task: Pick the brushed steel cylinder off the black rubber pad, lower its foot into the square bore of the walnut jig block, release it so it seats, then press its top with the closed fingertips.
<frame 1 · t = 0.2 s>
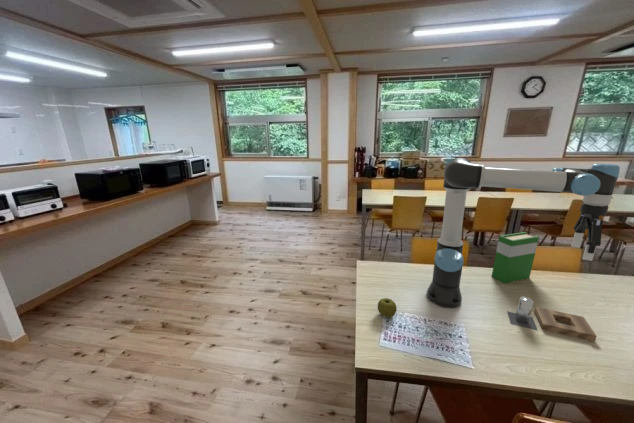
hand: (580, 253, 113), 28 cm above the table, fingers open, 13 cm apart
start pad: (521, 321, 114), on the table
apple: (386, 315, 119), on the table
brushed steel cylinder: (521, 320, 114), resting on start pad
jig: (561, 326, 110), on the table
hardback book: (510, 277, 147), on the table
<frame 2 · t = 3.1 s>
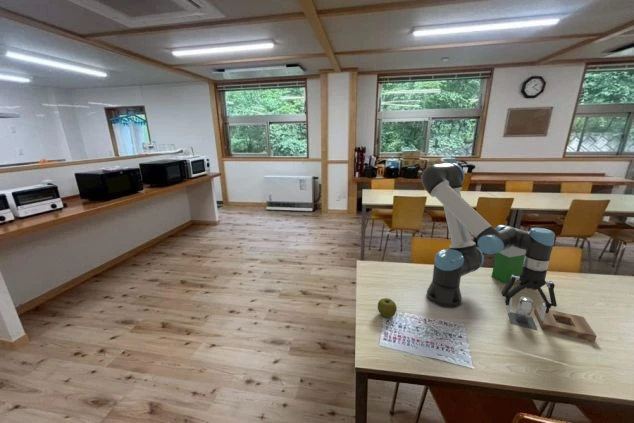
hand: (524, 315, 113), 3 cm above the table, fingers open, 11 cm apart
nothing on the table moved.
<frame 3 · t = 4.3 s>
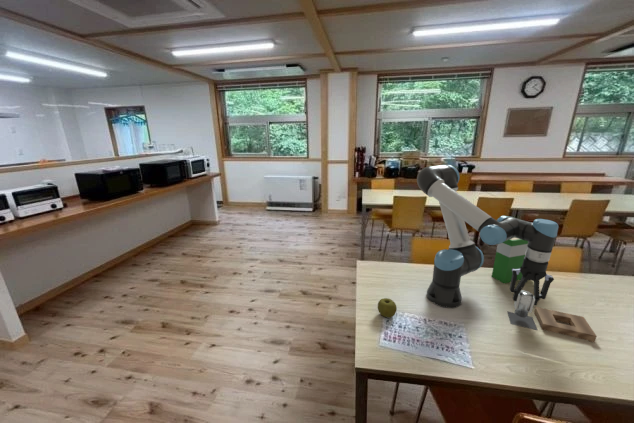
hand: (522, 308, 113), 6 cm above the table, fingers closed on brushed steel cylinder, 4 cm apart
brushed steel cylinder: (520, 313, 114), point 3 cm above the table, touching gripper
everything else where it was.
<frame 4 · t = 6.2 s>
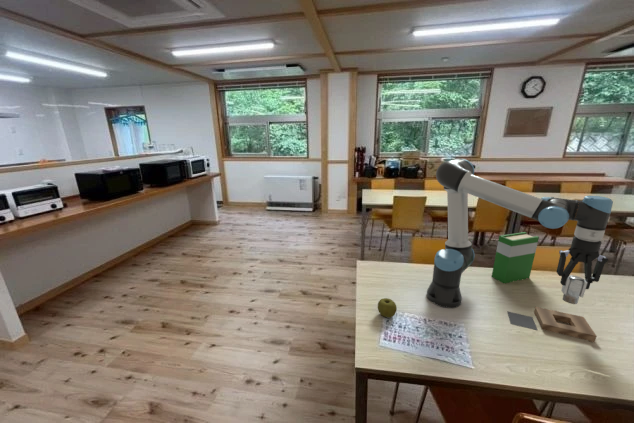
hand: (571, 293, 106), 15 cm above the table, fingers closed on brushed steel cylinder, 4 cm apart
brushed steel cylinder: (569, 300, 107), point 12 cm above the table, touching gripper
everything else where it was.
when the fingers open (4 cm above the table, at t = 8.0 s): brushed steel cylinder stays where it is, resting in jig.
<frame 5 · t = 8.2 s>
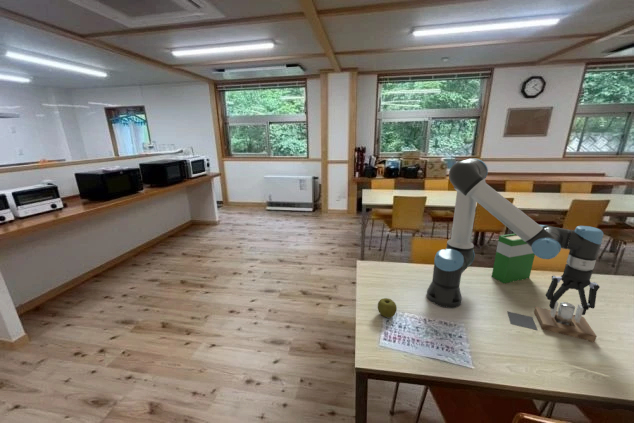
hand: (564, 317, 109), 4 cm above the table, fingers open, 7 cm apart
brushed steel cylinder: (561, 326, 111), resting in jig
everything else where it was.
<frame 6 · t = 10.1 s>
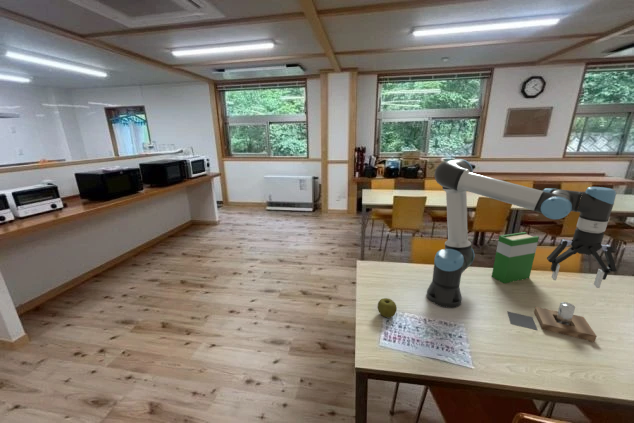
hand: (574, 282, 105), 20 cm above the table, fingers open, 12 cm apart
nothing on the table moved.
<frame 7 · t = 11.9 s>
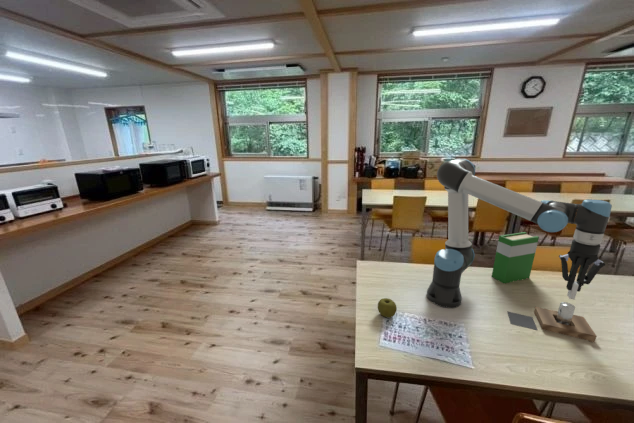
hand: (570, 297, 106), 14 cm above the table, fingers closed
nothing on the table moved.
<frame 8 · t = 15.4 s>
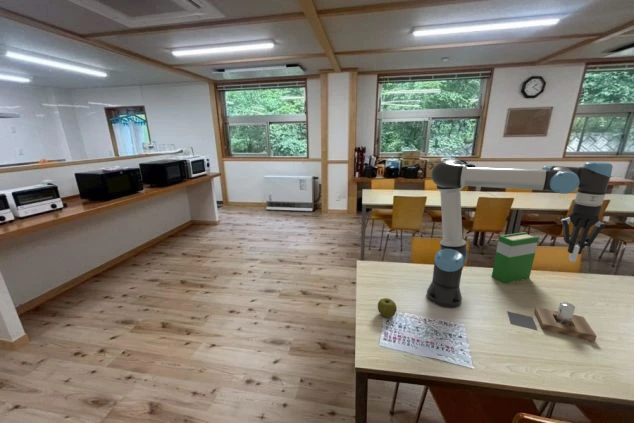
hand: (571, 260, 109), 26 cm above the table, fingers closed
nothing on the table moved.
at the end: brushed steel cylinder 0.1 cm off-centre on the jig, point 0.0 cm above the jig's base; brushed steel cylinder tilted 0°; the gripper is holding nothing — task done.
